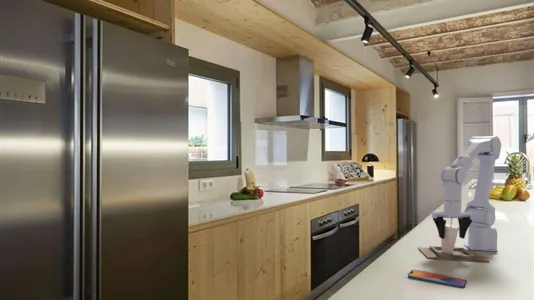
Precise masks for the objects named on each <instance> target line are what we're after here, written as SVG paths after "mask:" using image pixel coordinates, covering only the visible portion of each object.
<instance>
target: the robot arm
mask: <svg viewBox="0 0 534 300" xmlns="http://www.w3.org/2000/svg"><path fill="white" fill-rule="evenodd" d="M501 149H502V143H501V139H500V137H499V136H497V135H493V136H491V135H490V136H489V135H488V136H475V135H473V136H472V137H470V139H469V140H468V148H467V149H466V150H465V152H464V154H461V155H458V156H457V158H455V160H453V162H452V163H451V164H450V166H448V167H447V166H446V167H445V168H443V169H442V171H441V174H440V179H441V182H442V187H443V211H431V218H432V220H433V222H434V224H435V227H436V229H437V232H438V237H439V238H440V239H441V238H442V239H444V235H445V224H446V223H447V220H445V219H451V218H452V219H457V220H458V227H459V231H458V233H459V234H458V235H459V238H461V239H464V240H465V238H466V235H468V236H467V238H468V239H467V243H464V244H463V245H464V246H465V247H466V248H468V249H469V250H474V251H486V252H487V251H488V252H498V251H499V250H498V231H497V228H496V227H495V226H493V225H494V224H495V222H496V208H495V207H494V205H493V204H491V202H489V200H490V195H491V190H492V182H493V176H494V172H495V166H496V165H495V164H496V160H499V159H500V155H501ZM474 159H478V160H479V162H480V163H479V168H478V173H477V180H476V185H475V191H474V197H473V199H472V200H470V201H468V202H467V203H466V206H465V209H464V210H463V211H462V193H463V192H462V190H463V189H462V186H463V183H465V181H466V178H467V173H468V171H469V170H470V169H471V168H472V166H473V161H474ZM467 231H468V232H467Z"/></svg>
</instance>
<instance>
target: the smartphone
mask: <svg viewBox="0 0 534 300" xmlns="http://www.w3.org/2000/svg"><path fill="white" fill-rule="evenodd" d="M407 278H408V279H411V280H417V281H420V282H427V283H431V284H437V285H442V286H447V287H453V288H458V289H459V288H460V289H464V288H466V285H467V279H464V278H459V277H454V276H450V275H444V274H440V273H435V272H429V271H424V270H419V269H411V270H410V272H409V273H408V274H407Z"/></svg>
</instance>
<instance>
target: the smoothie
mask: <svg viewBox="0 0 534 300" xmlns="http://www.w3.org/2000/svg"><path fill="white" fill-rule="evenodd" d="M449 222H450V224H445V235H444V239H442V238H440V239H441V240H440V241H441V246H440V247H442V252H443V253H447V254H453V250H454V247H456V246H455V245H456V241H457V236H458V233H459V226H456V225H453V218H450V221H449Z"/></svg>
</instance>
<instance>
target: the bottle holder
mask: <svg viewBox="0 0 534 300" xmlns="http://www.w3.org/2000/svg"><path fill="white" fill-rule="evenodd" d="M417 249H418V250H419V252H420V253H421V254H423V256H424V257H425V258H426V259H427V260H428V259H429V260H439V261H440V260H442V261H443V260H445V261H458V262H460V261H461V262H473V263H475V262H476V263H477V262H478V263H490V260H489V259H488V258H486V257H484V256H483V255H481V254H480V253H478V252H476V250H471V249H465V247H456V246H454V250H453V254H447V253H443V252H442V246H440V245H439V246H437V245H429V247H421V246H419V247H417Z"/></svg>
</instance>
